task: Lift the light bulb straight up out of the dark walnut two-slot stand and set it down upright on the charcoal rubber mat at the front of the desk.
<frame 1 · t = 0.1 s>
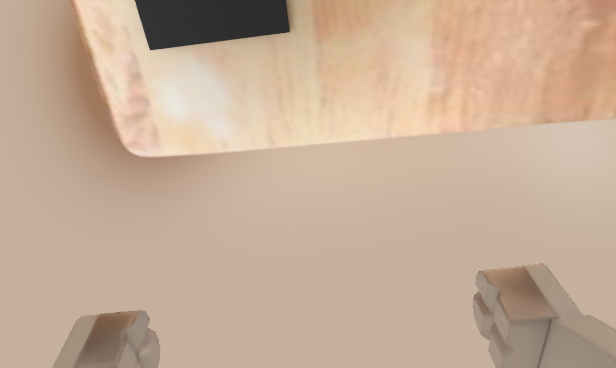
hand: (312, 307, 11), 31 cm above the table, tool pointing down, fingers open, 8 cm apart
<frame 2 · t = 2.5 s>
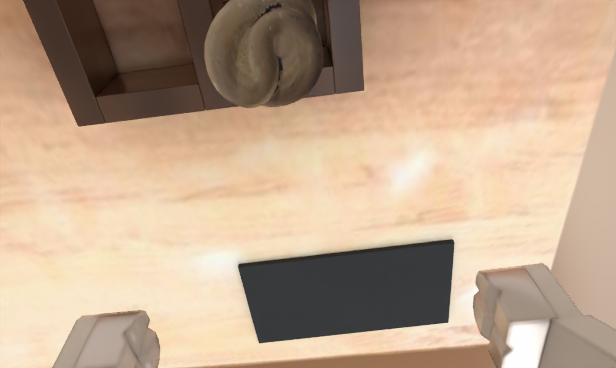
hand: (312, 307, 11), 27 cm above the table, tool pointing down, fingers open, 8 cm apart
stand: (211, 11, 32), on the table
mat: (348, 293, 48), on the table
light bulb: (273, 2, 32), resting in stand
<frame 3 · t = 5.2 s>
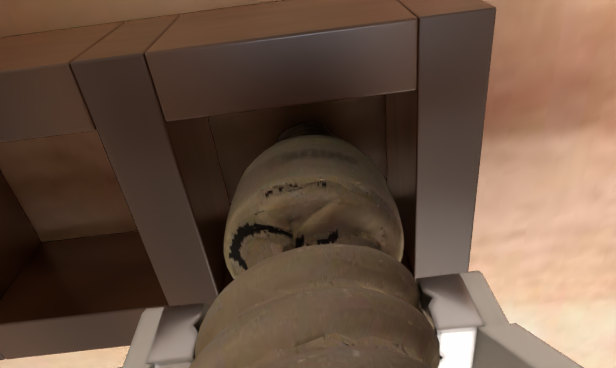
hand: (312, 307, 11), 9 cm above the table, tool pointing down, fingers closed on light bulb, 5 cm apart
stand: (193, 154, 19), on the table
light bulb: (301, 138, 19), resting in stand, touching gripper
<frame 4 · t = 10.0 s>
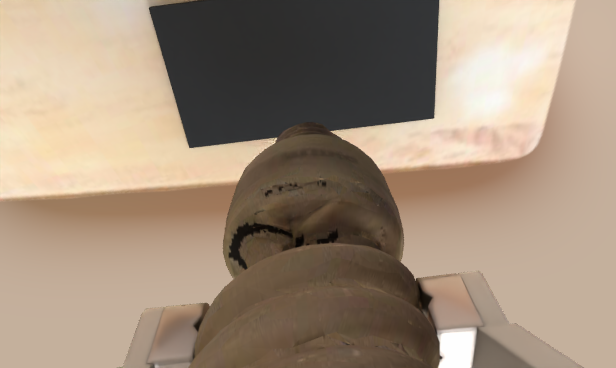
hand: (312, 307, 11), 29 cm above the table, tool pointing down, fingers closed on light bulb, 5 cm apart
mat: (302, 65, 37), on the table
light bulb: (301, 138, 19), point 19 cm above the table, touching gripper
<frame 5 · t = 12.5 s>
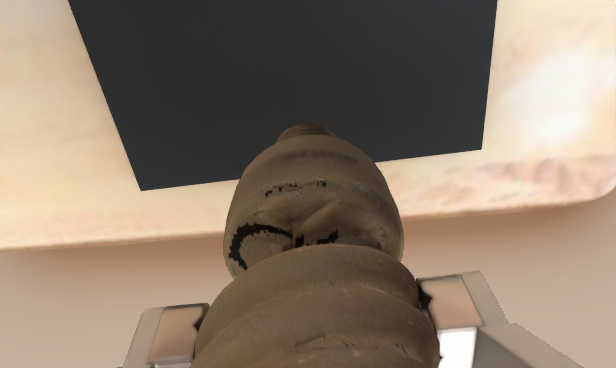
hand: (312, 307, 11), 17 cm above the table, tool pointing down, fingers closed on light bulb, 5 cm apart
mat: (297, 77, 26), on the table
light bulb: (301, 138, 19), point 8 cm above the table, touching gripper
when the fingers open (10 cm above the table, at t = 14.8 s): light bulb stays where it is, resting on mat.
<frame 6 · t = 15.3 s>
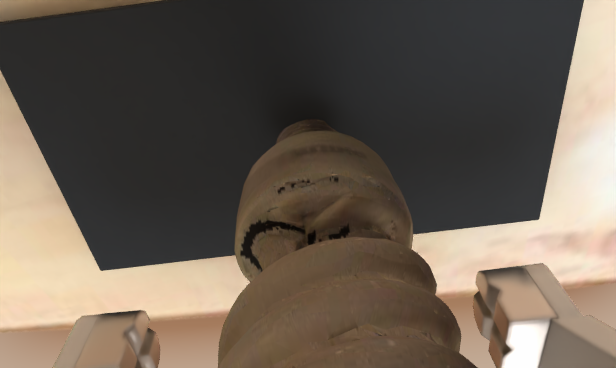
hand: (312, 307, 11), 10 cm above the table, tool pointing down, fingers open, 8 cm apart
mat: (301, 133, 19), on the table
light bulb: (300, 135, 19), resting on mat
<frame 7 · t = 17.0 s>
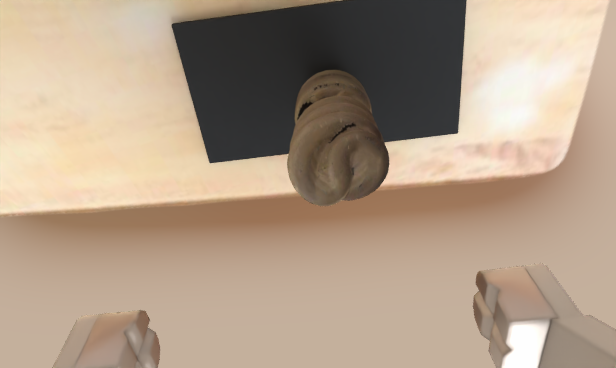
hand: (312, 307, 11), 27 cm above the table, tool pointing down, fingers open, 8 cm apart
mat: (325, 81, 36), on the table
light bulb: (324, 81, 36), resting on mat
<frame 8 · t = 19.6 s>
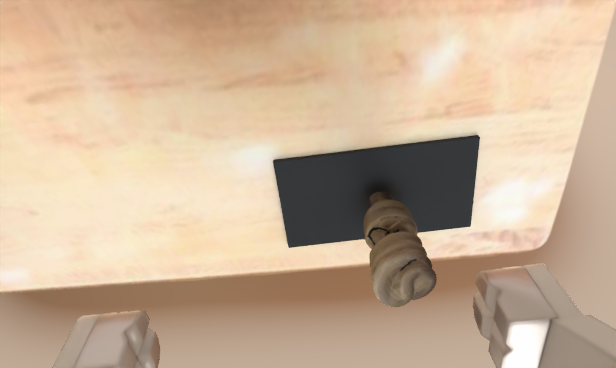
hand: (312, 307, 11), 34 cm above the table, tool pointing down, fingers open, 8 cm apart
mat: (376, 193, 50), on the table
light bulb: (377, 194, 50), resting on mat
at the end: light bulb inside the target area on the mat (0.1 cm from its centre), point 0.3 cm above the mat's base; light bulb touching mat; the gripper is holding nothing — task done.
